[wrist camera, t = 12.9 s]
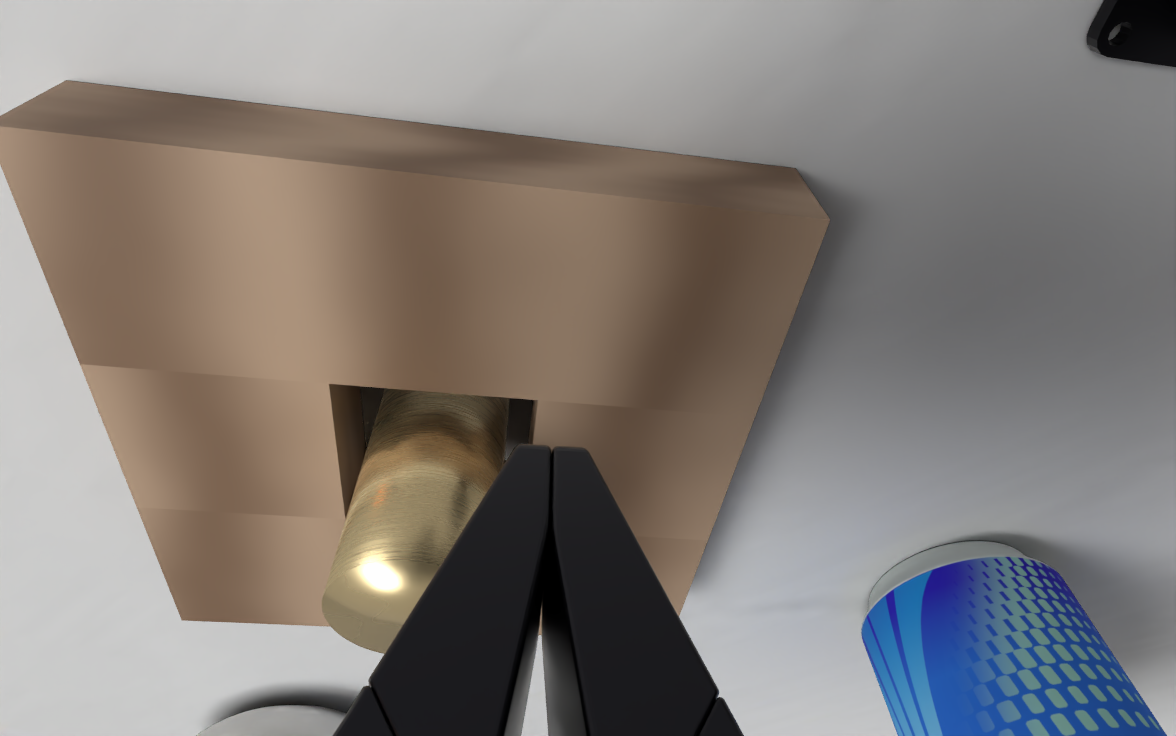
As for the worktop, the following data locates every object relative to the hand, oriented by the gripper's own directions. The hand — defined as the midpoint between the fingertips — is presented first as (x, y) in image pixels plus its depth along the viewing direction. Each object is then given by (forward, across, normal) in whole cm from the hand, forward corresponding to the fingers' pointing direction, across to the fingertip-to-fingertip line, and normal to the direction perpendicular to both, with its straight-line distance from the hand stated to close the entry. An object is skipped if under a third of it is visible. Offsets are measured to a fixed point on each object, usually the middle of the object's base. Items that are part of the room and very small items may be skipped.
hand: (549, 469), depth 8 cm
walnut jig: (+12, +3, +9) cm, 15 cm away
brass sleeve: (+12, +3, +9) cm, 15 cm away
